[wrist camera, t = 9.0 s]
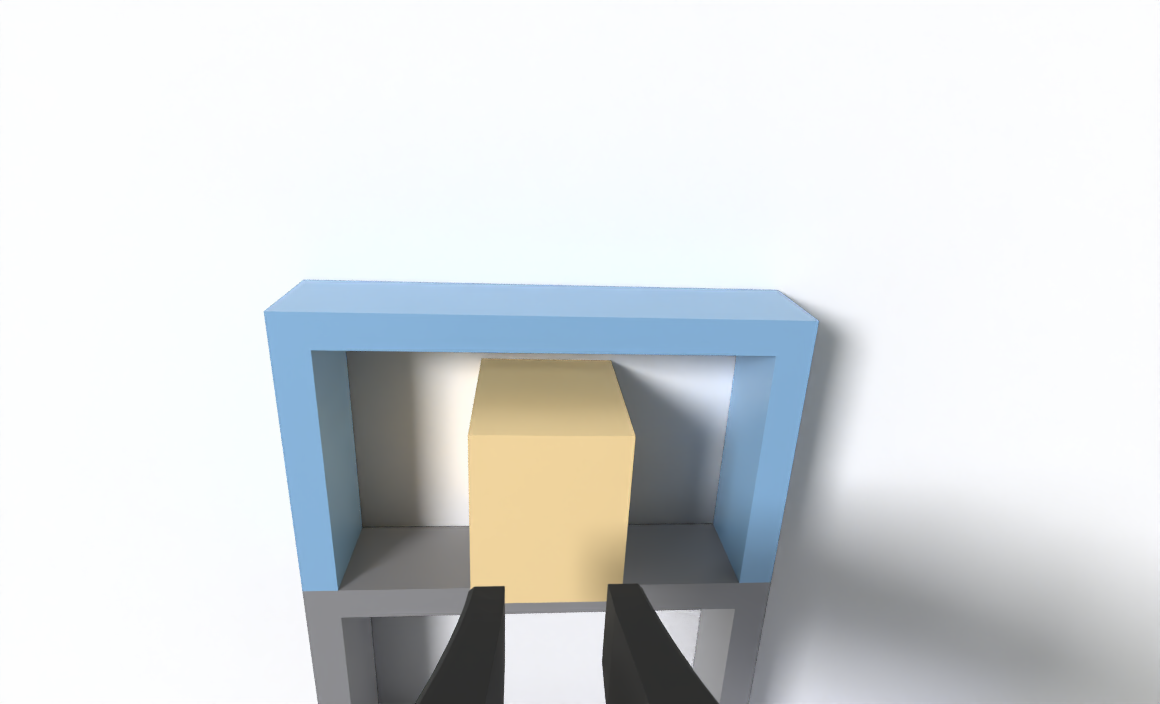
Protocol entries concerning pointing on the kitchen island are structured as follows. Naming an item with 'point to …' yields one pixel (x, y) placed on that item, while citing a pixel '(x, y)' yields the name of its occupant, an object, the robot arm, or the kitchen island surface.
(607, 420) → the sand colored cube
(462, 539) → the two-compartment tray
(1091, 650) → the kitchen island surface
